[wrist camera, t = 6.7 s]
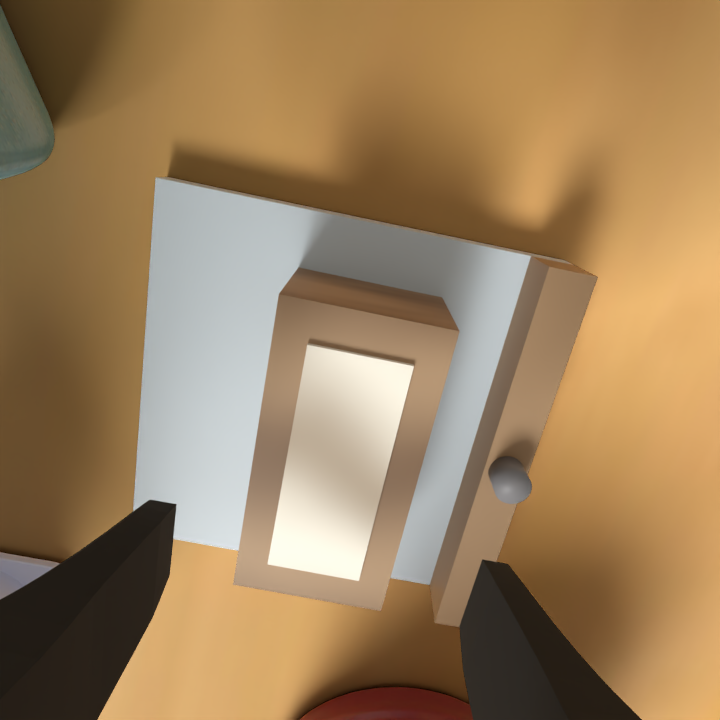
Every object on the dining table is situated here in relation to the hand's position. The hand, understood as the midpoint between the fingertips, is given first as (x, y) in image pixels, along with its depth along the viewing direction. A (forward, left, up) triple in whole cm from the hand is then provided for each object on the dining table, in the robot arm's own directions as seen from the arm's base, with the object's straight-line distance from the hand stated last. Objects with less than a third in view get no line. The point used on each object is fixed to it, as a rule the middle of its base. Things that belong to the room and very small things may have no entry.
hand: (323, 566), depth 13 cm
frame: (0, 0, -8) cm, 8 cm away
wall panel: (0, 0, -9) cm, 9 cm away
